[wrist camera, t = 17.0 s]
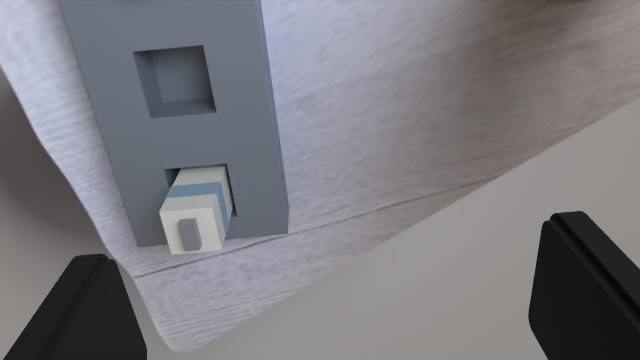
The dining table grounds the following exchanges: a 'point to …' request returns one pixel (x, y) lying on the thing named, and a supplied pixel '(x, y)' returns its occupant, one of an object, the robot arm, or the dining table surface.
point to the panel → (183, 103)
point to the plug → (198, 209)
